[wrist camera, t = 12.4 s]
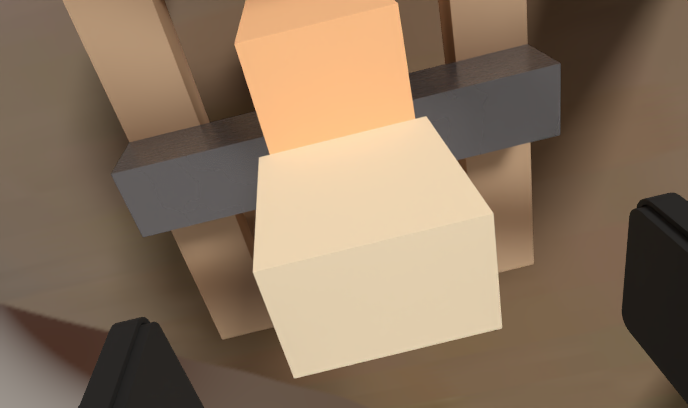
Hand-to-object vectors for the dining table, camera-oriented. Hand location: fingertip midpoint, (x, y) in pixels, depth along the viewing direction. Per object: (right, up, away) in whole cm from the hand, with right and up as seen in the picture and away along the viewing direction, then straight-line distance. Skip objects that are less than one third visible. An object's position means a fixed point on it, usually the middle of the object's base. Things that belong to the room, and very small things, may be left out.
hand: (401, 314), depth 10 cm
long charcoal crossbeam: (-1, +5, +8) cm, 10 cm away
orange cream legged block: (-2, +9, +15) cm, 17 cm away
